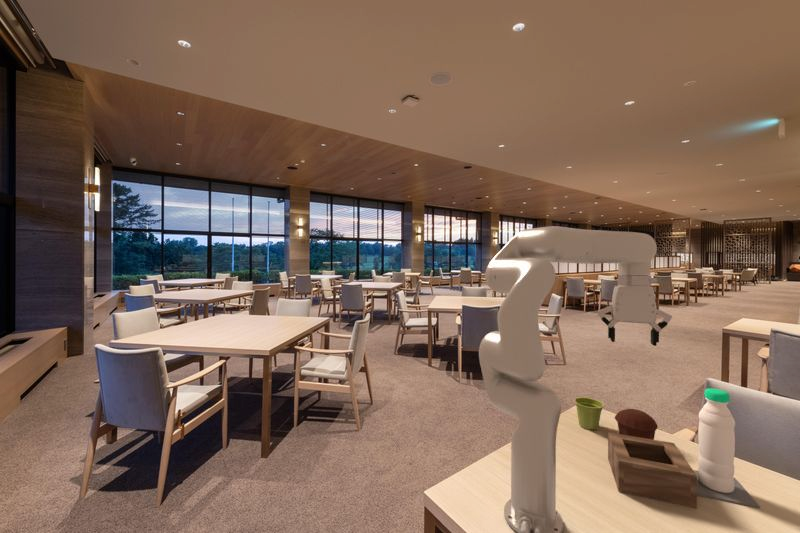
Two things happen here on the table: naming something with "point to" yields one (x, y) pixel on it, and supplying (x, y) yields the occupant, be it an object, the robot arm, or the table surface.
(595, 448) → the table surface
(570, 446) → the table surface
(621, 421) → the muffin
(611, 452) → the slot box
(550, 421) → the robot arm
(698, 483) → the mat
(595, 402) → the plant pot
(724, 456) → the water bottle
